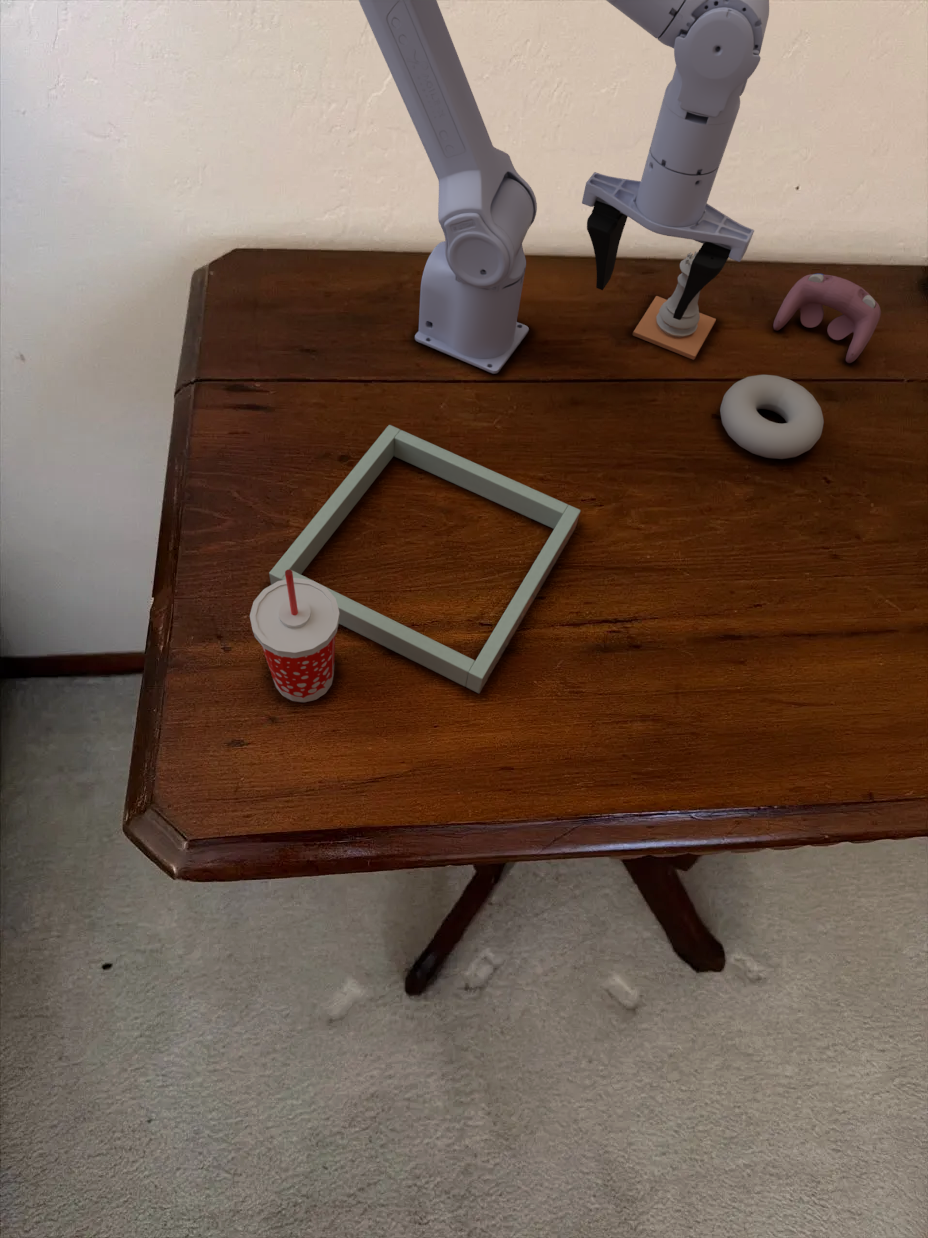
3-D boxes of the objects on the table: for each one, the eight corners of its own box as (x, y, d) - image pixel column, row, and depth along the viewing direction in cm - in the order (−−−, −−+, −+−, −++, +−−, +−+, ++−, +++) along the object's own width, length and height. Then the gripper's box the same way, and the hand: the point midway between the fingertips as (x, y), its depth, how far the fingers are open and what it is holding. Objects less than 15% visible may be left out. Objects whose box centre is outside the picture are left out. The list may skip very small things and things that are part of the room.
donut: (712, 455, 85) (816, 475, 84) (723, 429, 82) (831, 450, 81) (717, 385, 90) (814, 403, 90) (728, 358, 87) (828, 377, 87)
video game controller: (856, 361, 96) (893, 298, 92) (853, 367, 93) (891, 302, 89) (773, 323, 98) (806, 260, 95) (767, 328, 95) (801, 262, 91)
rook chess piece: (646, 318, 94) (667, 252, 87) (679, 306, 95) (702, 240, 89) (672, 344, 92) (695, 278, 85) (704, 332, 94) (730, 266, 87)
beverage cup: (282, 632, 70) (263, 523, 58) (355, 655, 70) (350, 549, 58) (250, 697, 67) (223, 596, 55) (326, 721, 67) (315, 624, 55)
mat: (632, 335, 93) (633, 331, 93) (655, 299, 97) (656, 295, 96) (693, 360, 92) (695, 356, 91) (714, 322, 95) (716, 318, 95)
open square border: (271, 590, 72) (268, 572, 70) (388, 443, 82) (389, 423, 80) (479, 694, 69) (482, 679, 67) (575, 527, 79) (581, 509, 76)
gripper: (785, 161, 71) (727, 302, 82) (619, 103, 73) (585, 247, 85) (761, 204, 67) (704, 345, 79) (587, 142, 70) (557, 287, 81)
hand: (641, 297), depth 81 cm, fingers open, 7 cm apart
